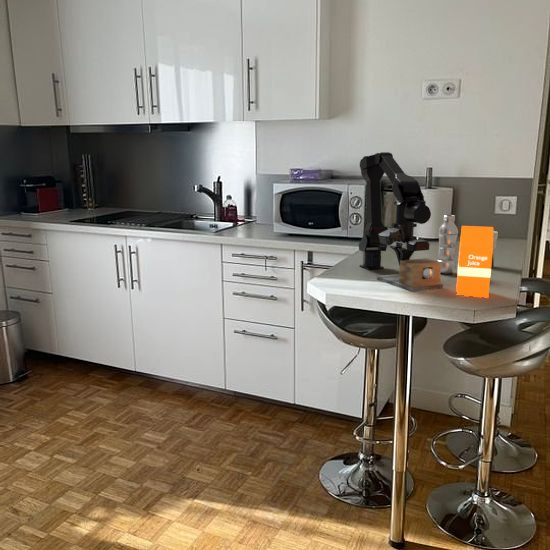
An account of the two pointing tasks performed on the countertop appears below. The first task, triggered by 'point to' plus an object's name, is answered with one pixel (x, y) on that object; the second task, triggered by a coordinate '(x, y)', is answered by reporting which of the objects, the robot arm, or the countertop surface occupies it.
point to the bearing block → (415, 275)
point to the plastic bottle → (447, 244)
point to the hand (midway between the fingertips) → (402, 268)
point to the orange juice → (475, 261)
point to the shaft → (427, 272)
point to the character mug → (494, 244)
